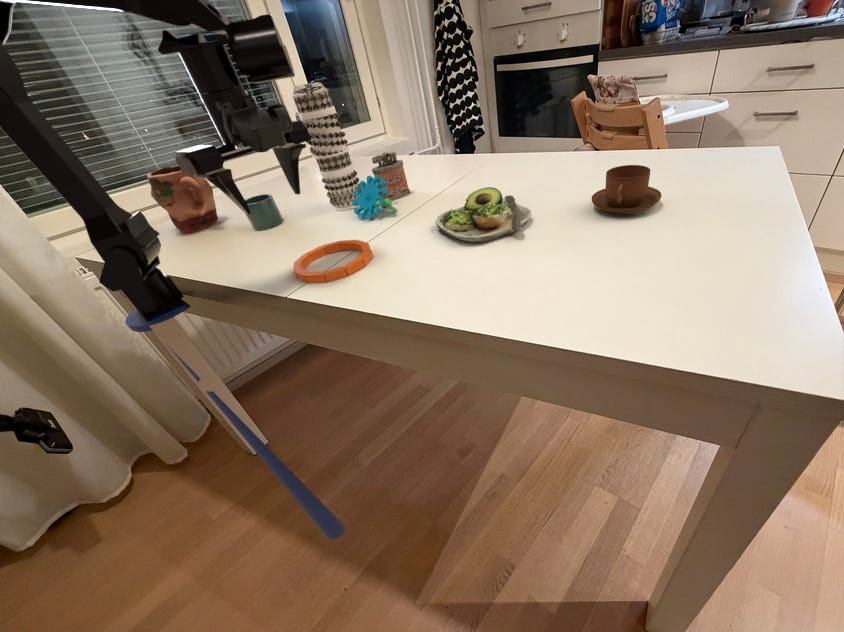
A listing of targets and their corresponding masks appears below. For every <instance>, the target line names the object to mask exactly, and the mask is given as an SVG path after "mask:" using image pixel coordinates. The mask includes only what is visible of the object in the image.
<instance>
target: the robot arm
mask: <svg viewBox="0 0 844 632" xmlns="http://www.w3.org/2000/svg"><path fill="white" fill-rule="evenodd" d="M17 3H26V4H27V3H28V4H40V5H50V6H60V7H61V6H62V7H72V8H83V9H95V10H104V11H105V10H106V11H117V12H126V13H129V14H132V15H135V16H136V15H137V16H139V17H144V18H147V19H150V20H154V21H158V22H162V23H167V24H170V25H173V26H177V27H182V28H187V29H203V30H205V31H207V32H209V33H215V34H218V35H227V38H223V39H217V40H209V41H207V40H206V38H205V37H204V35H203V34H201V33H200V32H195V33H189V34H183V35H176V34H175V33H173V32H172V31H171V30H169V29H168V30H167V29H162V31H161V34H162V38H161V41H160V43H159V45H158V47H157V52H158V53H159V54H160V55H162V56H175V55H179V57H180V59H181V61H182V63H183V65H184V67H185V69H186V71H187V73H188V75H189V77H190V80H191V81H192V84H193V85H194V87H195V90H196V91H197V93H198V94H199V97H200V99H201V101H202V102H201V103H199V105H200V107H201V109H202V111H203V112H204V113H208V116H209V117H210V119H211V121H212V123H213V125H214V127H215V129H216V131H217V133H218V135H216V138H217V140H218V142H219V144H220V145H218V146H214V145H213V144H211V145H210V144H199V145H194V146H192V147H191V146H190V147H188V148H184V149H181V150H176V151H175V156H174V157H175V162H176V164H177V165H179V167H180V169H181V171H182V172H183V174H191V175H195V176H196V177H199V178H205V179H206V180H207V181H208V182H209V183H211V184H212V185H213V186H215V187H216V188H217V189H219V190H220V191H221V192H222V193H223V194H224V195H226V196H227V198H229V200H231V202H233V203H234V204H235V205H236V206H237V207H238V208H239V209H240V210H241V211H242V212H243V213H244V214H245V213H246V214H248V215H250V214H251V212H250V209H249V207H248V205H247V203H246V201H245V200H246V198H244V196H243V194H242V193H241V191H240V189H239V188H238V186H237V184H236V182H235V179H234V178H233V172H232V169H231V168H225V167H224V163H225V161H228V160H230V159H233V158H236V157H240V156H243V155H246V154H250V153H252V152H257V153H266V152H267V153H268V151H270V150H271V149H272V151H273V153H274V155H275V157H276V159H277V161H278V163H279V166H280V168H281V170H282V173H283V174H284V176H285V178H286V180H287V182H288V184H289V186H290V188H291V189H292V191H293V193H294V194H295V195H300V194H301V185H300V170H299V169H300V168H299V167H300V166H299V165H300V163H299V162H300V156H301V153H302V151H303V150H304V149H306V148H307V143H306V141H308V140H311V136H310V134H309V131H308V128H307V127H306V126H305V125H304V124H303V123H302V122H301V121H298V120H292V118H291V116H290V114H289V112H288V110H287V107H286V106H285V105H284V104H282V103H281V102H278V103H274V104H269V105H268V106H267V108H266V109H260V108H259V106H258V105H257V103H256V100H255V99H254V97H253V96H252V94H247V92H246V91H245V88H244V86H243V83H242V82H241V79H240V76H239V75H238V72H237V69H238V71H239V73H240V75H241V76H242V77H249V78H250V80H251V81H252V82H253V84H254V85H255V84H256V85H257V84H261V83H262V84H263V83H268V82H273V81H278V80H284V79H289V78H294V77H296V74H295V69H294V67H293V64H292V63H293V62H292V60H291V57H290V53H289V51H288V48H287V45H285V44H284V42H283V40H282V37H281V34H280V33H279V30H278V28H277V25H276V23H275V20H274V18H273V16H272V15H271V14H269V13H268V14H261V15H258V16H257V17H254V18H251V19H250V18H249V19H243V20H237V21H230V20H229V18H228V16H227V15H225V14H223V13H221V12H220V11H219V10H218V9H217V8H216V7H215V6H213V5H212V4H211V3H210V1H209V0H0V129H1V130H2V132H3V133H4V134H5V135H6V136H7V137H8V139H10V141H11V142H13V144H14V145H15V146H16V147H17V148H18V149H19V151H21V152H22V154H23V155H24V156H25V157H26V158H27V159H28V160H29V162H30V163H31V164H32V165H33V166H34V167H35V168H36V169H37V171H38V172H40V174H41V175H42V176H43V177H44V178H45V180H46V181H48V183H50V185H51V186H52V188H54V189H55V190H56V192H57V193H58V194H59V195H60V196H61V197H62V199H64V200H65V202H67V204H68V205H69V207H71V208H72V210H73V211H75V213H76V214H77V215H78V216H79V217H80V218H81V220H82V222H83V224H84V227H85V230H86V233H87V235H88V239H89V242H90V244H91V245H92V246H93V248H94V249H95V251H96V252H97V253H98V255H99V257H100V258H101V260H102V262H103V267H102V270H101V273H100V277H99V280H98V283H99V284H101V285H102V286H104V287H105V288H106V289H108V290H109V291H111V292H118V291H120V292H121V293H122V295H124V297H125V298H126V299H127V301H128V302H129V303H130V304H131V305H132V306H133V307H134V309H136V311H137V313H138V314H139V315H140V316H141V317H142V318H143V319H144V320H145V321H150V320H152V319H154V318H157V317H159V316H161V315H163V314H165V313H167V312H169V311H171V310H174V309H176V308H178V307H180V306H182V305H184V304H186V303H187V302H186V301H185V300H184V299H183V298H184V294H183V293H182V292H181V290H180V289H179V287H178V286H177V285H176V283H175V281H173V279H172V277H171V276H169V275H168V274H167V273H163V271H162V270H161V269H159V268H158V266H159V265H160V264H161V260H160V259H161V258H160V257H159V255H160V253H161V248H162V243H161V241H160V239H159V236H160V232H159V231H157V230H156V229H154V227H153V226H152V225H151V224H150V223H149V221H148V219H147V218H146V216H145V215H144V213H143V212H141V211H139V210H138V211H136V212H135V213H133V214H132V213H130V212H129V211H127V210H126V209H124V208H122V207H121V206H119V205H118V204H117V203H116V202H115V201H114V199H112V197H111V196H110V195H109V194H108V192H107V191H106V190H105V189H104V187H103V186H102V185H101V184H100V183H99V181H98V179H96V178H95V176H94V175H93V174H92V173H91V172H90V170H89V169H88V168H87V167H86V165H85V164H84V163H83V162H82V161H81V159H80V158H79V157H78V156H77V155H76V153H75V152H74V151H73V149H72V148H71V147H70V146H69V144H68V143H66V141H65V140H64V139H63V137H62V136H61V135H60V134H59V133H58V131H57V130H56V128H54V127H53V125H52V124H51V122H49V120H48V119H47V118H46V117H45V116H44V115H43V113H42V112H41V111H40V109H39V108H38V107H37V106H36V105H35V103H34V102H33V101H32V100H31V98H30V96H29V95H28V91H27V89H26V87H25V83H24V79H23V77H22V74H21V72H20V69H19V68H18V65H17V64H16V63H15V61H14V59H13V58H12V56H11V55H10V53H9V51H8V50H7V48H6V47H5V43H6V41H7V40H8V38H9V36H10V34H11V31H12V24H13V14H14V13H13V12H14V8H15V6H16V4H17ZM227 46H228V48H229V52H230V54H231V56H230V54H229V52H228V48H227ZM231 57H232V59H233V61H232V59H231ZM233 62H234V63H233ZM234 64H235V65H236V67H237V69H236V68H235V66H234ZM246 214H245V215H246Z"/></svg>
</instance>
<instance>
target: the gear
mask: <svg viewBox="0 0 844 632" xmlns="http://www.w3.org/2000/svg"><path fill="white" fill-rule="evenodd" d="M380 180H381V181H380ZM379 181H380V182H379ZM377 182H379V183H378V184H377ZM358 184H359V185H360V187H361V193H360V191H359V190H357V189H356V190H355V191H354V195H356V196H358V197H359V201H357V200H355V199H353V201H352V205H354V206H357V205H360V206H358V207H356V208H353V213H354V215H357V216H358V217H359V218H360V219H362V220H365V219H366V218H368V219H369V220H373V219H374V214H376V215H380V214H381V213H382V209H383V210H391V211H393V212H394V213H398V209H397V208H396V207H394V206H393V205H392V204H393V201H391V200H390V199H388V198H385V199H384V198H381V194H382V193H383V194H384V195H388V191H389V190H388V189H386V188H383V189H380V187H381V186H383V187H385V186H386V181H385V180H384V179H381V178H380V177H379V176H378V175H375V176H374V177H373V176H372V175H367V176H366V181H364V180H360V181H359V182H358Z"/></svg>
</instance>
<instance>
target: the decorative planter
mask: <svg viewBox="0 0 844 632" xmlns="http://www.w3.org/2000/svg"><path fill="white" fill-rule="evenodd" d="M146 178H147V181H148V184H149V185H150V195H151V197H152V198H153V200H154V202H156V203H157V204H158V205H159V206H160V207H161V208H162V209H163V210H164V211H166V212H167V214H168V216H169V219H170V220H171V223H172V224H173V225H174V227H175V228H176V229H177V230H178V231H179V232H182V233H194V232H197V231H200V230H202V229H205V228H207V227H210V226H211V225H213V224H215V223H216V222H217V221H218V220H219V217H218V213H217V208H216V202H215V197H214V189H213V187H212V185H211V184H210V182H209V180H207V179H206V178H199V177H196V176H195V175H191V174H183V172H182V171H181V169H180V167H179V165H178V164H177V165H174V166H166V167H161V168H158V169H156V170H154V171H152V172H149V173H148V174H147V175H146Z"/></svg>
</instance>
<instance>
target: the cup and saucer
mask: <svg viewBox="0 0 844 632" xmlns="http://www.w3.org/2000/svg"><path fill="white" fill-rule="evenodd" d="M650 177H651V168H650V167H648V166H646V165H640V164H626V165H619V166H615V167H612V168H609V169H608V170H607V171H606V172H605V188H603V189H600V190H598V191H597V192H595V193H594V194H592V196H591V203H592V204H593V205H594V207H596V208H597V209H599V210H600V211H603V212H607V213H613V214H631V213H638V212H642V211H646V210H649V209H650V208H652V207H654V206H656V205H657V204H658V203H659V202H660V200H661V198H662V192H661V191H660V190H659V189H657V188H655V187H652V186H649V184H650Z"/></svg>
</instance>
